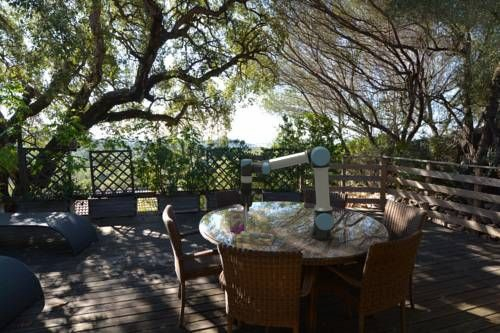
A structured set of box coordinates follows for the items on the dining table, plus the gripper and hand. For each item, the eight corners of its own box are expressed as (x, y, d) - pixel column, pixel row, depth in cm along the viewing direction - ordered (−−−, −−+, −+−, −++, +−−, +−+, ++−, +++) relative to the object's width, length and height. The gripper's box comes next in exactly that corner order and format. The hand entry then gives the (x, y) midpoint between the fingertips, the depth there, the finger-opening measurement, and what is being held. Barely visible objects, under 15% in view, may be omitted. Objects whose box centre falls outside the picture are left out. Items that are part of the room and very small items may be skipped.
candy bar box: (229, 231, 231) (230, 210, 229) (232, 229, 236) (232, 208, 234) (244, 233, 227) (244, 211, 225) (246, 231, 232) (246, 210, 230)
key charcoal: (270, 239, 213) (270, 235, 213) (268, 241, 208) (268, 237, 208) (262, 238, 215) (262, 234, 215) (260, 241, 210) (261, 236, 209)
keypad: (274, 238, 217) (275, 234, 217) (270, 245, 204) (270, 240, 203) (241, 235, 223) (241, 230, 223) (235, 241, 210) (235, 237, 210)
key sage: (250, 237, 217) (250, 233, 217) (248, 239, 212) (248, 235, 212) (243, 236, 219) (243, 232, 218) (241, 238, 213) (241, 234, 213)
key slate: (260, 235, 215) (260, 231, 215) (258, 238, 210) (258, 234, 210) (252, 235, 217) (253, 231, 216) (250, 237, 211) (250, 233, 211)
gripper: (235, 182, 209) (235, 216, 212) (254, 183, 206) (254, 218, 208) (238, 180, 216) (238, 214, 219) (257, 181, 213) (256, 215, 216)
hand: (246, 216), depth 214 cm, fingers closed
